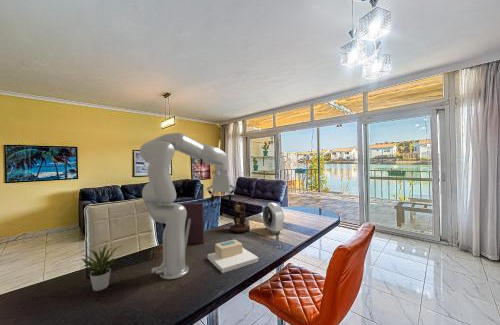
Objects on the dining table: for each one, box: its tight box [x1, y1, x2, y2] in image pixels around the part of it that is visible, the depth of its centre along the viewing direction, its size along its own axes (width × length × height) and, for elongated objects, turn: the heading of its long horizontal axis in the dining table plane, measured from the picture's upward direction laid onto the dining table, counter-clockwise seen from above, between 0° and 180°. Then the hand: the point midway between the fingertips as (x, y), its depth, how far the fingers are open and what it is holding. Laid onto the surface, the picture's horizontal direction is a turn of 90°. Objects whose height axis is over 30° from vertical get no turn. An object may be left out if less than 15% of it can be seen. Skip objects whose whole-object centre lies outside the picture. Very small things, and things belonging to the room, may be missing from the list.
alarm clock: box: [262, 202, 285, 235], centre depth 157 cm, size 18×8×20 cm, turn 25°
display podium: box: [207, 247, 260, 274], centre depth 112 cm, size 20×18×2 cm
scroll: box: [229, 202, 251, 234], centre depth 159 cm, size 15×15×20 cm
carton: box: [214, 239, 244, 259], centre depth 115 cm, size 12×8×5 cm, turn 123°
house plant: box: [81, 244, 122, 292], centre depth 90 cm, size 14×14×16 cm
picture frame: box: [177, 202, 205, 250], centre depth 131 cm, size 17×10×25 cm, turn 84°
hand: (221, 201), depth 131 cm, fingers open, 9 cm apart
